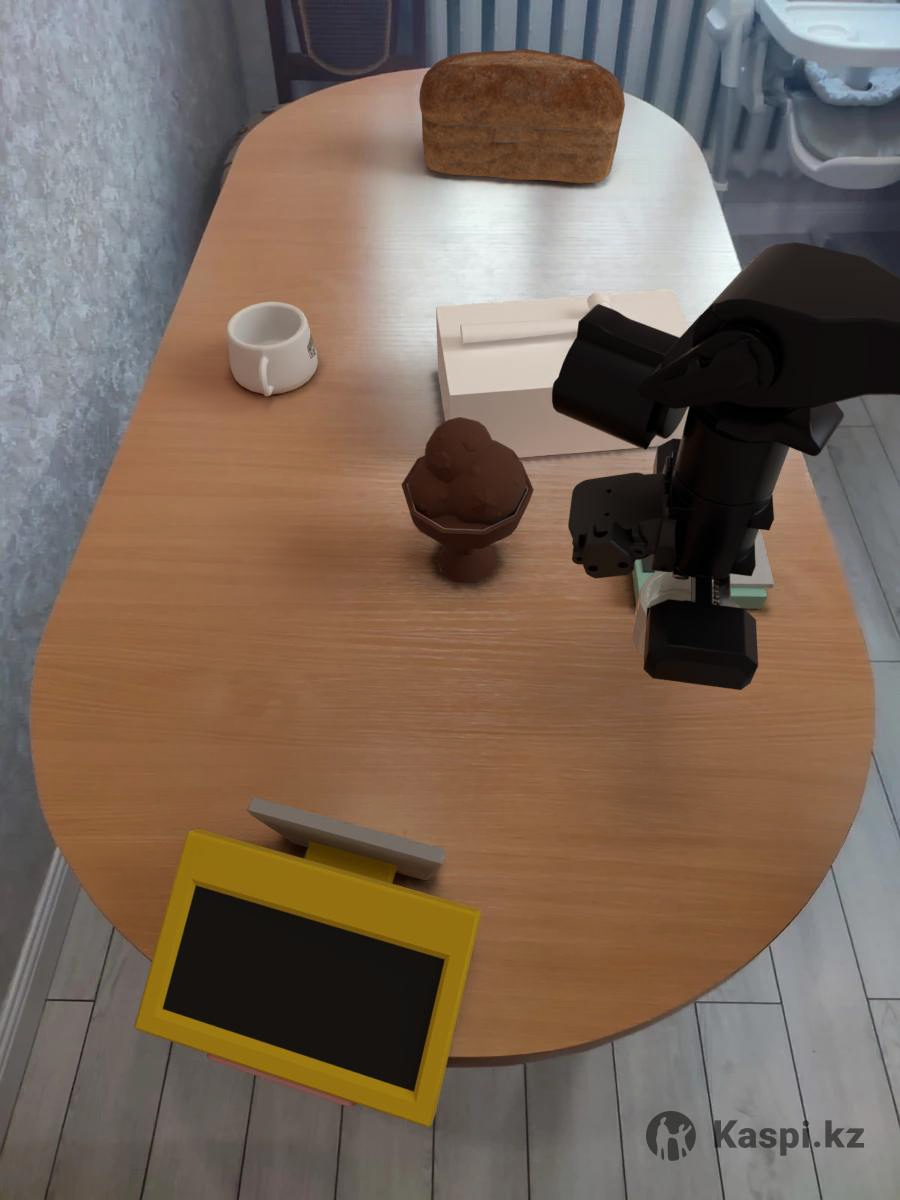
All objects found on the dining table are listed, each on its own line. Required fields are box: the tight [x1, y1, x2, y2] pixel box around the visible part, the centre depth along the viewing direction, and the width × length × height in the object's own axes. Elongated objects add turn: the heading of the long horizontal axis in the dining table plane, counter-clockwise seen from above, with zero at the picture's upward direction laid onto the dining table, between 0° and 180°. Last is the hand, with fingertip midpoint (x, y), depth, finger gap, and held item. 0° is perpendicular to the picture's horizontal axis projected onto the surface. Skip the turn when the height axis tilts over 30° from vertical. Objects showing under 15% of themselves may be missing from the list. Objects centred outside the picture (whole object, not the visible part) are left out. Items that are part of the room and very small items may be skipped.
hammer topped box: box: [435, 288, 690, 459], centre depth 91 cm, size 14×25×11 cm, turn 96°
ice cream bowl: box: [400, 417, 534, 584], centre depth 77 cm, size 11×11×15 cm
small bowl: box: [631, 571, 716, 658], centre depth 62 cm, size 6×6×5 cm
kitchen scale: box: [631, 529, 775, 610], centre depth 81 cm, size 12×11×2 cm
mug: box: [226, 301, 319, 397], centre depth 97 cm, size 12×10×6 cm
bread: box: [418, 48, 626, 184], centre depth 123 cm, size 12×28×14 cm, turn 80°
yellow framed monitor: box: [134, 796, 482, 1128], centre depth 58 cm, size 20×8×16 cm
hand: (676, 631), depth 63 cm, fingers closed on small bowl, 6 cm apart
